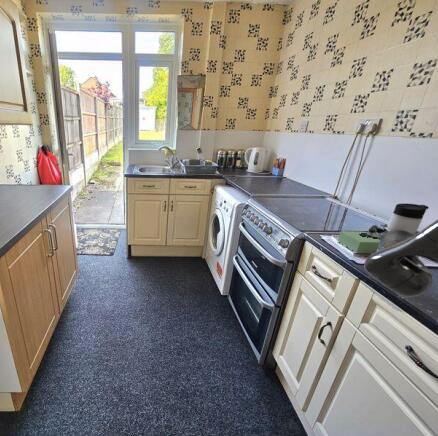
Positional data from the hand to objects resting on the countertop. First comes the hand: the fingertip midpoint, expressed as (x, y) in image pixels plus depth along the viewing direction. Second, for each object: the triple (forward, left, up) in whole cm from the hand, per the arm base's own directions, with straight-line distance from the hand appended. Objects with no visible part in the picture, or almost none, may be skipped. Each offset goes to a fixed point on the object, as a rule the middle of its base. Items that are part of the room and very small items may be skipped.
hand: (399, 230), depth 76 cm
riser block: (-7, -18, -16) cm, 25 cm away
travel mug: (+2, +2, -11) cm, 11 cm away
